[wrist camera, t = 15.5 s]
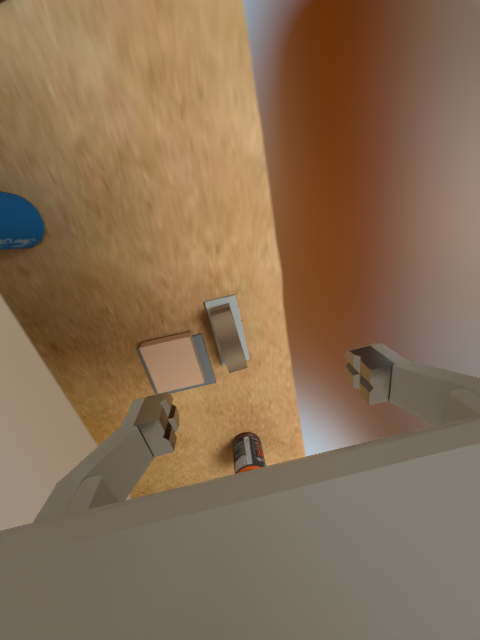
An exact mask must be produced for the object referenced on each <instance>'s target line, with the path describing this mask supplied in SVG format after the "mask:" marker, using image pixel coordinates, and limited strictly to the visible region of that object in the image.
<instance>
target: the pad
mask: <svg viewBox="0 0 480 640" xmlns="http://www.w3.org/2000/svg"><path fill="white" fill-rule="evenodd" d="M226 303H229V305H230V308H231V311H232V315H233V318H234V321H235V325H236V328H237V332H238V335H239V338H240V342H241V345H242V348H243V352H244V355H245V360H249V359H250V358H249V353H248V349H247V344H246V340H245V335H244V331H243V326H242V322H241V318H240V313H239V309H238V304H237V300H236V295H230V296H226V297H221V298H217V299H213V300H208V301H205V306H206V309H207V313H208V316H209V320H210V323H211V327H212V331H213V334H214V338H215V341H216V345H217V348H218V352H219V356H220V359H221V363H222V366H224V365H226V362H225V359H224V356H223V353H222V350H221V347H220V344H219V341H218V338H217V335H216V332H215V329H214V326H213V323H212V320H211V318H210V312H211V308H212V307H216V306H219V305H223V304H226Z"/></svg>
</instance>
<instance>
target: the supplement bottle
mask: <svg viewBox="0 0 480 640" xmlns="http://www.w3.org/2000/svg"><path fill="white" fill-rule="evenodd" d="M233 455H234V469H235V474H237V473H241V472H245V471H249V470H253V469H257V468H262V467H266V465H265V460H264V455H263V450H262V446H261V442H260V439H259V437H258V436H257V435H255V434H252V433H244V434H241V435H239V436H237V438H235V440H234V442H233Z"/></svg>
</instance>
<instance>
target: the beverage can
mask: <svg viewBox="0 0 480 640" xmlns="http://www.w3.org/2000/svg"><path fill="white" fill-rule="evenodd" d="M43 235H44V223H43V220H42V217H41V215H40V213H39V212H38V210H37V209H36V208H35V207H34V206H33V205H32V204H31V203H30V202H29V201H27V200H26V199H24V198H22V197H20V196H18V195H15V194H11V193H6V192H1V191H0V250H4V249H21V248H30V247H33V246H36V245H37V244H38V243H39V242H40V241H41V240H42V238H43Z"/></svg>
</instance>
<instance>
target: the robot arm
mask: <svg viewBox="0 0 480 640" xmlns="http://www.w3.org/2000/svg"><path fill="white" fill-rule="evenodd" d="M345 359H346V360H347V361H348V364H347V365H346V367H345V373H346V376H347V379H348V381H349V383H350V384H351V385H352V386H353V387H354V388H357V389H359V394H360V395H361V397H363V399H364V400H365V401H366V402H367V403H368V404H369V405H373V404H377V403H382V402H387V401H389V402H390V403H392V404H394V405H396V406H398V407H400V408H402V409H404V410H406V411H408V412H410V413H412V414H413V415H415V416H417V417H419V418H421V419H423V420H425V421H427V422H429V423H431V424H433V425H435V426H431V427H427V428H423V429H419V430H414V431H410V432H406V433H402V434H398V435H394V436H390V437H385V438H381V439H377V440H373V441H369V442H365V443H361V444H356V445H353V446H348V447H344V448H340V449H336V450H332V451H328V452H323V453H319V454H315V455H311V456H307V457H303V458H299V459H295V460H290V461H286V462H282V463H278V464H274V465H270V466H266V467H262V468H257V469H253V470H249V471H245V472H241V473H237V474H233V475H229V476H224V477H220V478H216V479H212V480H208V481H204V482H200V483H196V484H191V485H187V486H183V487H179V488H175V489H171V490H167V491H163V492H158V493H154V494H150V495H146V496H142V497H138V498H134V499H130V500H126V498H127V497H128V495H129V494H130V492H131V491H132V489H133V488H134V487H135V485H136V484H137V482H138V481H139V479H140V478H141V476H142V475H143V473H144V472H145V471H146V469H147V468H148V466H149V465H150V463H151V462H152V460H153V459H154V457H156V456H160V455H164V454H167V453H171V452H174V449H175V444H176V439H177V437H176V435H175V432H176V431H177V429H178V427H179V414H178V410H177V407H176V406H174V405H173V404H172V401H173V398H172V396H171V394H170V393H169V392H167V393H163V394H158V395H153V396H148V397H144V398H139V399H135V400H134V401H133V402H132V404H131V407H130V409H129V411H128V413H127V415H126V417H125V419H124V421H123V423H122V426H121V428H120V430H116V431H115V432H114V433H113V434H112V435H110V436H109V437H108V438H107V439H106V440H105V441H104V442H103V443H102V444H100V445H99V446H98V447H97V448H96V449H95V450H94V451H93V452H92V453H90V455H88V456H87V457H86V458H85V459H84V460H83V461H82V462H81V463H79V464H78V465H77V466H76V467H75V468H74V469H73V470H72V471H70V472H69V473H68V474H67V475H66V476H65V477H64V478H63V479H62V480H61V481H59V482H58V483H57V484H56V486H55V488H54V489H53V491H52V493H51V494H50V496H49V497H48V499H47V501H46V502H45V504H44V506H43V507H42V509H41V510H40V512H39V513H38V515H37V517H36V519H35V520H34V522H33V523H31V524H27V525H22V526H18V527H14V528H10V529H6V530H2V531H0V640H480V378H477V377H473V376H469V375H465V374H461V373H457V372H453V371H450V370H446V369H442V368H437V367H434V366H429V365H426V364H422V363H418V362H414V361H410V362H408V361H407V360H405V359H404V358H402V357H401V356H399V355H398V354H396V353H395V352H393V351H392V350H391V349H389V348H388V347H386V346H385V345H383V344H381V343H376V344H372V345H369V346H367V347H362V348H358V349H353V350H349V351H346V354H345Z"/></svg>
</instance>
